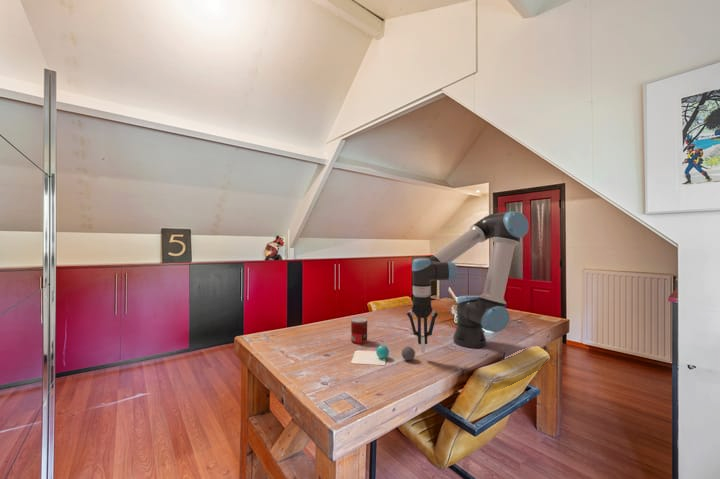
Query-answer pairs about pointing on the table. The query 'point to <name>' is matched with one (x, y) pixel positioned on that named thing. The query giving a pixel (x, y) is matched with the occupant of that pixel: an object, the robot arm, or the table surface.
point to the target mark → (367, 358)
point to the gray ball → (408, 353)
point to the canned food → (359, 330)
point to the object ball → (382, 352)
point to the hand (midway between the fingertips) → (422, 351)
